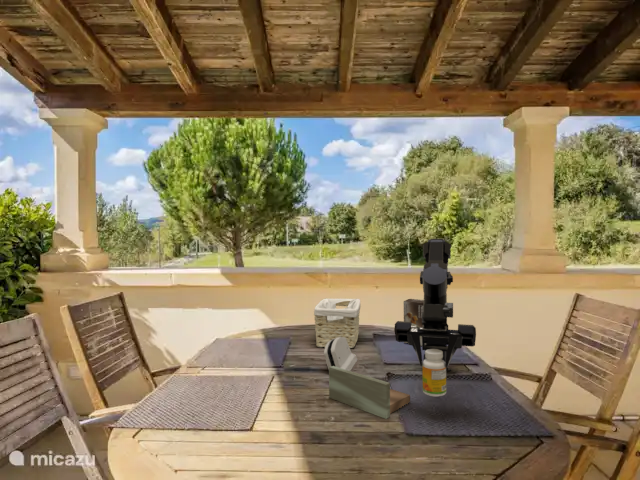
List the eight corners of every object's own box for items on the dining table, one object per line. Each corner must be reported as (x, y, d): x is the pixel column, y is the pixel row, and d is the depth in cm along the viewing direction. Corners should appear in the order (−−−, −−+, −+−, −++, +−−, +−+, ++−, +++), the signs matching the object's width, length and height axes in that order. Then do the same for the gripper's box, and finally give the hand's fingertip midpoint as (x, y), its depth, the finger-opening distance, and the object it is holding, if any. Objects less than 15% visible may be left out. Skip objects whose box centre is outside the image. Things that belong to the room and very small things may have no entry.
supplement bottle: (420, 388, 105) (419, 348, 105) (442, 387, 105) (442, 347, 105) (425, 397, 100) (425, 355, 99) (449, 396, 100) (448, 354, 99)
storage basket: (322, 332, 182) (322, 297, 182) (361, 333, 180) (361, 297, 179) (313, 349, 159) (312, 308, 158) (358, 350, 156) (357, 309, 156)
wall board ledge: (357, 385, 122) (357, 357, 122) (413, 403, 110) (413, 372, 109) (329, 397, 114) (328, 367, 114) (386, 418, 101) (386, 384, 101)
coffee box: (432, 343, 164) (432, 300, 164) (426, 347, 159) (426, 303, 158) (409, 339, 170) (409, 298, 169) (402, 343, 164) (402, 300, 164)
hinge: (346, 376, 129) (334, 344, 130) (331, 380, 131) (320, 348, 131) (357, 359, 145) (347, 330, 146) (344, 363, 147) (334, 334, 147)
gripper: (395, 288, 108) (389, 345, 98) (475, 291, 103) (478, 351, 93) (398, 313, 116) (393, 368, 106) (473, 317, 111) (476, 375, 100)
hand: (433, 366), depth 101 cm, fingers closed on supplement bottle, 5 cm apart
